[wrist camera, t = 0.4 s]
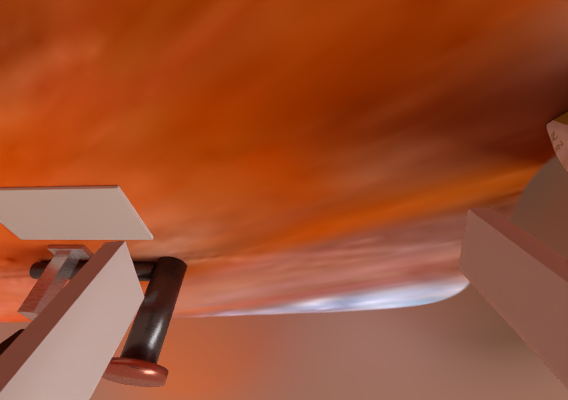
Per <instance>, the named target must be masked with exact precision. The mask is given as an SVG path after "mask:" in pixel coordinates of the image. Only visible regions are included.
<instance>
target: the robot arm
mask: <svg viewBox="0 0 568 400" xmlns="http://www.w3.org/2000/svg"><path fill="white" fill-rule="evenodd" d="M458 269H459V270H460V271H461V272H462V274H463V275H464V276H465V277H466V278H467V279H468V280H469V281H470V282H471V283H472V284H473V286H474V287H475V288H476V289H477V290H478V291H479V292H480V293H481V294H482V295H483V297H484V298H485V299H486V300H487V301H488V302H489V303H490V304H491V305H492V306H493V307H494V309H495V310H496V311H497V312H498V313H499V314H500V315H501V316H502V317H503V318H504V320H505V321H506V322H507V323H508V324H509V325H510V326H511V327H512V328H513V329H514V331H515V332H516V333H517V334H518V335H519V336H520V337H521V338H522V339H523V340H524V342H525V343H526V344H527V345H528V346H529V347H530V348H531V349H532V350H533V351H534V353H535V354H536V355H537V356H538V357H539V358H540V359H541V360H542V361H543V362H544V364H545V365H546V366H547V367H548V368H549V369H550V370H551V371H552V372H553V373H554V374H555V376H556V377H557V378H558V379H559V380H560V381H561V382H562V383H563V384H564V386H566V388H568V260H567V259H565V258H564V257H563V256H561V255H560V254H558V253H557V252H555V251H554V250H552V249H550V248H549V247H548V246H546V245H545V244H543V243H542V242H540V241H539V240H537V239H536V238H534V237H532V236H531V235H529V234H528V233H526V232H525V231H523V230H522V229H520V228H519V227H517V226H516V225H514V224H513V223H511V222H510V221H508V220H507V219H505V218H504V217H502V216H501V215H499V214H498V213H496V212H495V211H493V210H492V209H490V208H489V207H486V208H476V209H468V214H467V220H466V226H465V231H464V237H463V243H462V249H461V254H460V260H459V266H458ZM143 299H144V295H143V292H142V289H141V286H140V283H139V280H138V277H137V274H136V271H135V268H134V265H133V262H132V259H131V256H130V253H129V250H128V247H127V245H126V242H125V241H118V242H108V243H105V244H104V245H103V246H102V247H101V248H100V249H99V250H98V251H97V252H96V253H95V254H94V255H93V256H92V258H91V259H90V260H89V261H88V262H87V263H86V264H85V265H84V266H83V267H82V268H81V269H80V270H79V272H78V273H77V274H76V275H75V276H74V277H73V278H72V279H71V280H70V281H69V282H68V283H67V284H66V286H65V287H64V288H63V289H62V290H61V291H60V292H59V293H58V294H57V295H56V296H55V297H54V298H53V300H52V301H51V302H50V303H49V304H48V305H47V306H46V307H45V308H44V309H43V310H42V311H41V312H40V314H39V315H38V316H37V317H36V318H35V319H34V320H33V321H32V322H31V323H30V324H29V325H28V327H27V328H26V329H20V330H19V331H17V332H16V333H15V334H13V335H12V336H10V337H9V338H8V339H6V340H5V341H3V342H2V343H1V344H0V400H89V399H90V397H91V395H92V393H93V392H94V390H95V388H96V386H97V384H98V382H99V381H100V379H101V377H102V375H103V373H104V371H105V370H106V368H107V366H108V364H109V362H110V360H111V358H112V357H113V354H114V353H115V351H116V349H117V347H118V345H119V344H120V342H121V340H122V338H123V336H124V334H125V333H126V331H127V329H128V327H129V325H130V323H131V322H132V320H133V318H134V316H135V314H136V312H137V311H138V309H139V307H140V305H141V303H142V301H143Z"/></svg>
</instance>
